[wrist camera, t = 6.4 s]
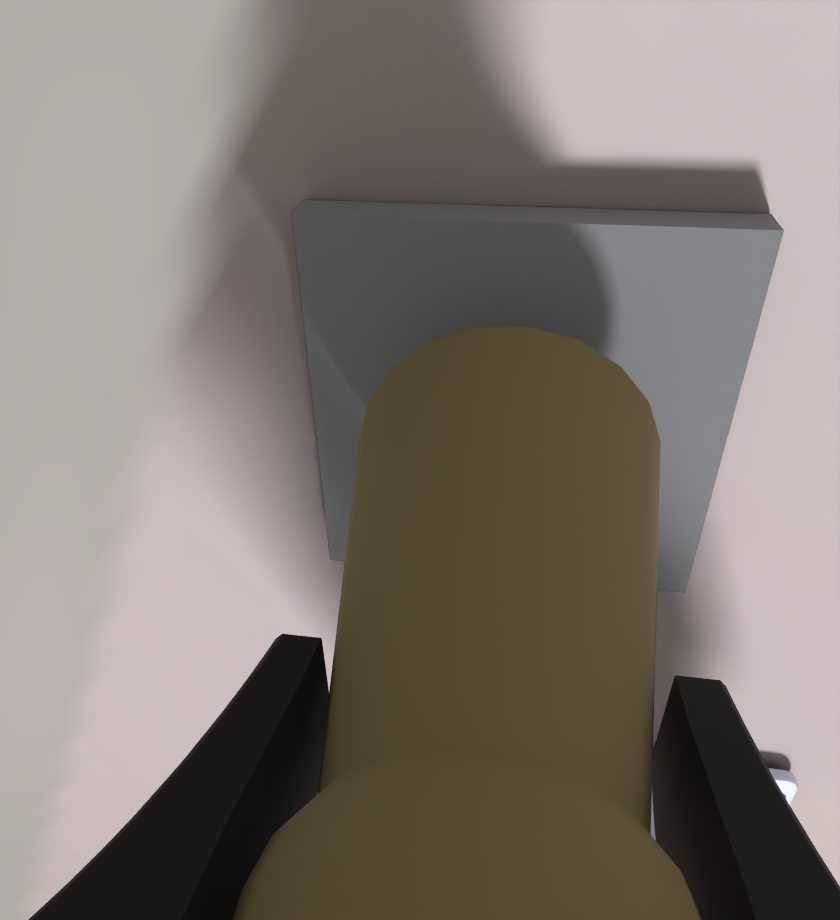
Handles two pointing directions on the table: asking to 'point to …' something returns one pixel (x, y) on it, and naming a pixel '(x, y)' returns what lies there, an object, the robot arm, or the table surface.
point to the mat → (539, 320)
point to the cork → (490, 653)
